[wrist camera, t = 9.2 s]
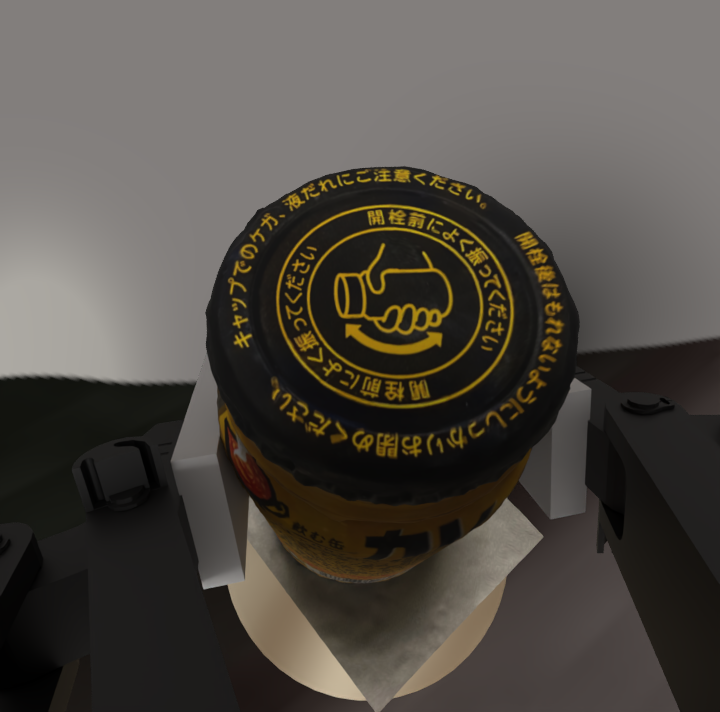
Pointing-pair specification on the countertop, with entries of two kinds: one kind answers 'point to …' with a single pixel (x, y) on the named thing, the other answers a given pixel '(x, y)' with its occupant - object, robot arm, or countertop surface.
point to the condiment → (388, 402)
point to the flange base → (310, 654)
